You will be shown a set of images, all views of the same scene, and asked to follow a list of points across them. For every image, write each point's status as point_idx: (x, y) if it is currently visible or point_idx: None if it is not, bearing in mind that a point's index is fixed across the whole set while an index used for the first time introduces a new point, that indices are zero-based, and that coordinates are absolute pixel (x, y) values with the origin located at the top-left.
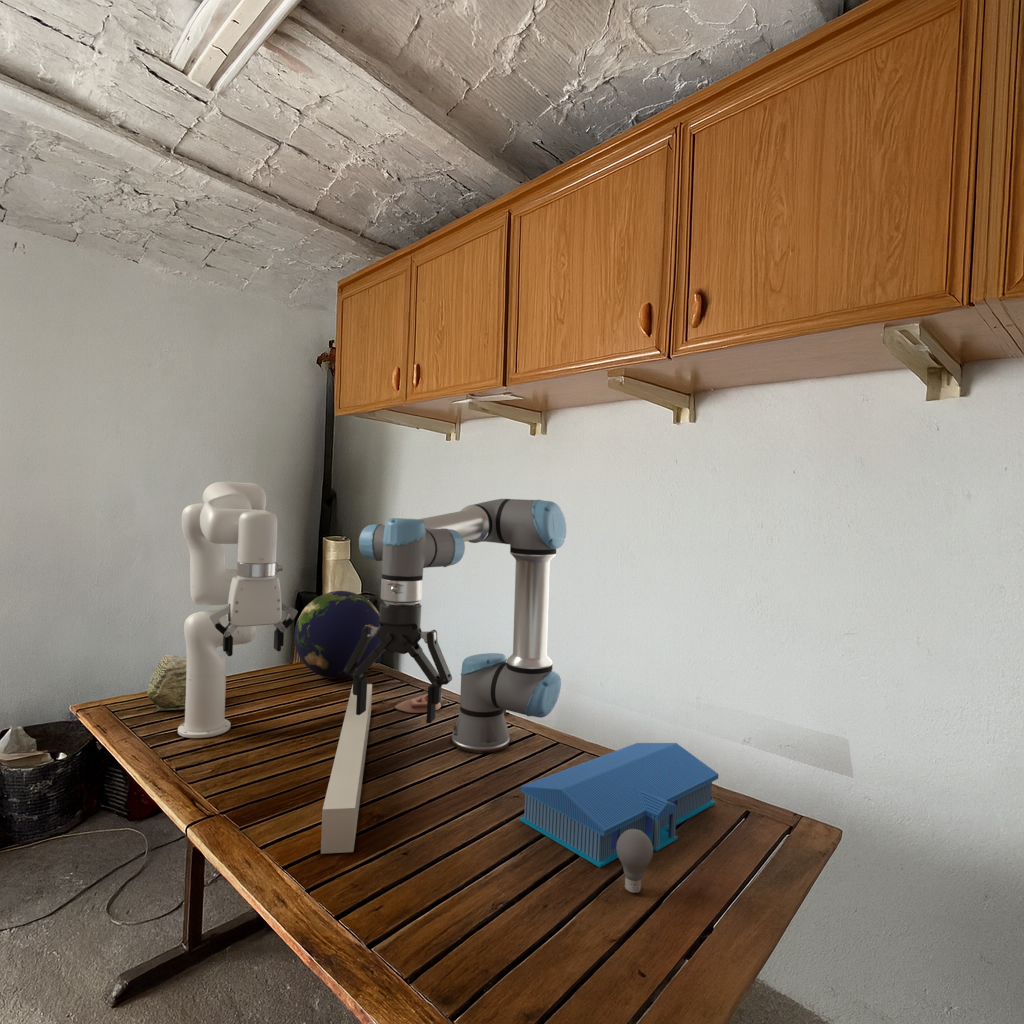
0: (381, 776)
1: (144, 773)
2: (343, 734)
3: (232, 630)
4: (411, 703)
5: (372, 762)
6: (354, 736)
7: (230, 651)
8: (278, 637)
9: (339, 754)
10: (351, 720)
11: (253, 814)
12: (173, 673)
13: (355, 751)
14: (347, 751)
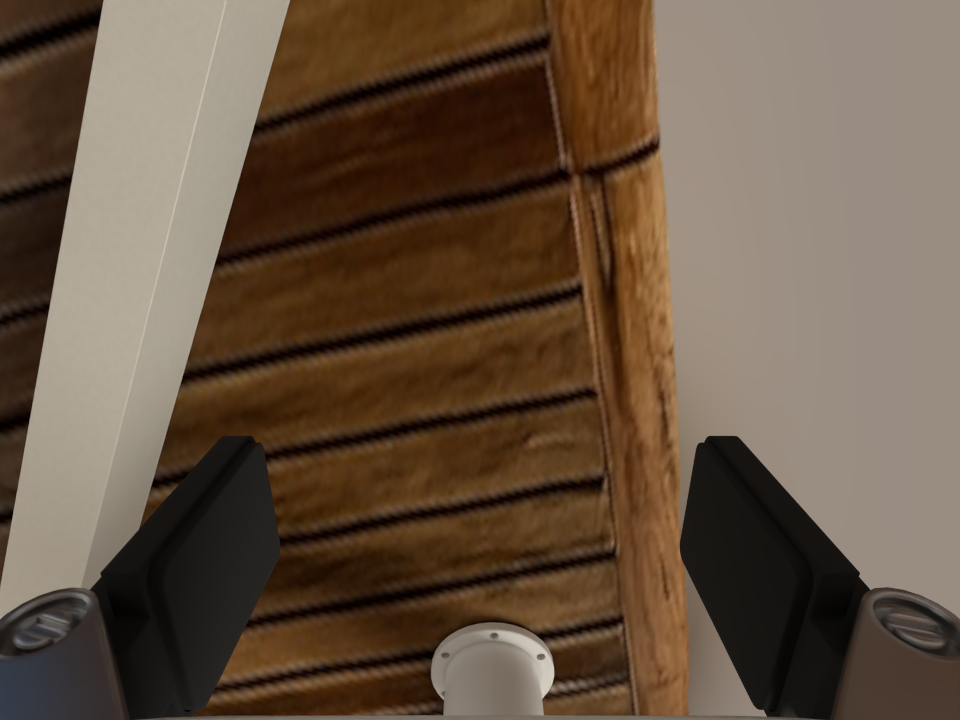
0: None
1: (670, 493)
2: (135, 318)
3: (879, 668)
4: None
5: None
6: (97, 279)
7: (739, 457)
8: (182, 533)
9: (177, 133)
10: (89, 429)
11: (494, 117)
12: None
13: (111, 130)
14: (142, 146)
